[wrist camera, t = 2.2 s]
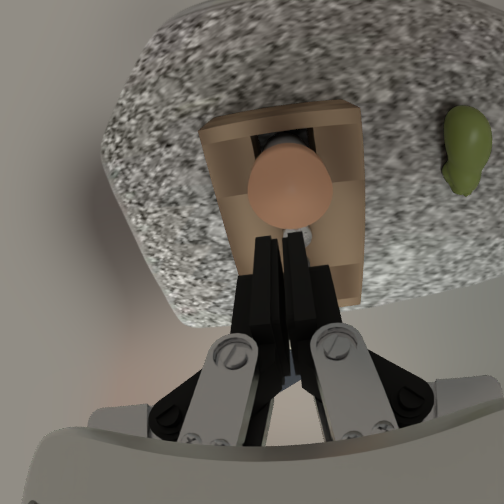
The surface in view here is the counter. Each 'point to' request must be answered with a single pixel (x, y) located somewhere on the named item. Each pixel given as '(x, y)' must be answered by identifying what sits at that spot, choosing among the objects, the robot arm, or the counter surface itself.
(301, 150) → the knob terracotta
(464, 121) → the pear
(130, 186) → the counter surface
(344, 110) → the wooden condiment caddy
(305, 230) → the pot stem
